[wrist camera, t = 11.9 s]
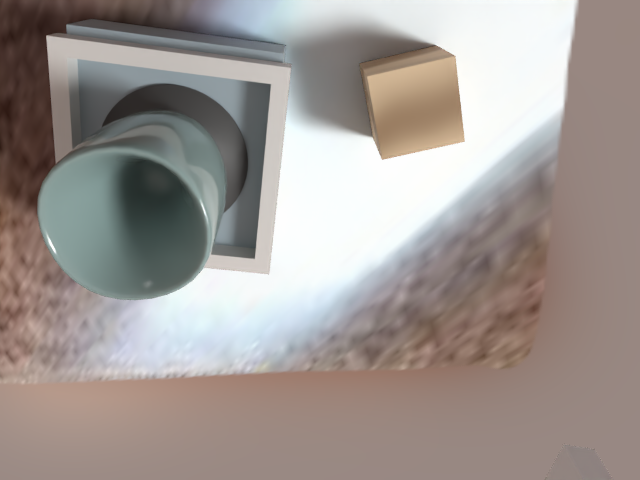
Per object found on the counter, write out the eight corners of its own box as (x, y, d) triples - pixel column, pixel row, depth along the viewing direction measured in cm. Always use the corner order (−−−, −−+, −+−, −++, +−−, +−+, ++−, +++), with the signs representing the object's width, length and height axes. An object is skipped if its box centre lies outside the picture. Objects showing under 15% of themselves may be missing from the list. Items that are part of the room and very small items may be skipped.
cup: (130, 228, 36) (74, 315, 27) (86, 109, 33) (4, 163, 24) (249, 206, 35) (231, 287, 26) (216, 83, 32) (183, 128, 23)
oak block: (359, 63, 36) (366, 76, 32) (435, 45, 36) (455, 56, 31) (372, 137, 38) (382, 159, 34) (445, 121, 38) (464, 141, 33)
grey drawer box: (82, 17, 34) (45, 25, 29) (293, 46, 35) (292, 58, 30) (93, 239, 41) (64, 276, 36) (271, 258, 42) (266, 296, 37)
